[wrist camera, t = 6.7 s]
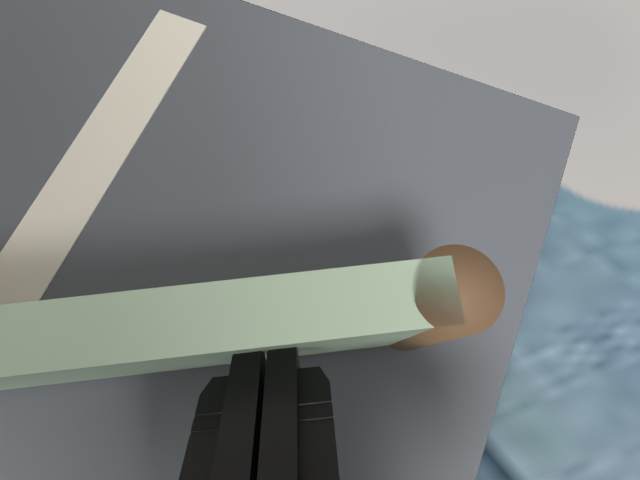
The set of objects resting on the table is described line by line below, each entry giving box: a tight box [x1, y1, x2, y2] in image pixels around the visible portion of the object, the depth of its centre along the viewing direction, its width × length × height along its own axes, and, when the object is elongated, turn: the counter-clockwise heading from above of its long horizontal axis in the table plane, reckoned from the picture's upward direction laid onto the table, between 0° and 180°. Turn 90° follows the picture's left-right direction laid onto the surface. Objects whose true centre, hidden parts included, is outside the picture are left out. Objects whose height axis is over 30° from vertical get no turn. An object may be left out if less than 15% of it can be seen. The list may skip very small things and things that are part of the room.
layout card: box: [0, 0, 579, 480], centre depth 18 cm, size 23×33×1 cm
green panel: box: [0, 244, 505, 390], centre depth 12 cm, size 18×2×7 cm, turn 96°
